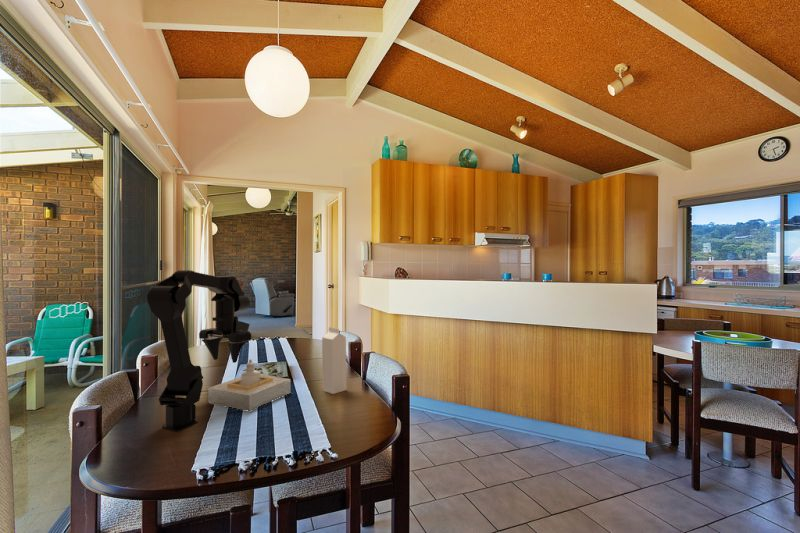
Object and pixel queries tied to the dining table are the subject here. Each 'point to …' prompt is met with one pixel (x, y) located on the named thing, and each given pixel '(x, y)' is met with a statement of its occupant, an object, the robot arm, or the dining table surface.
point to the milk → (334, 361)
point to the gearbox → (248, 392)
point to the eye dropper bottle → (250, 375)
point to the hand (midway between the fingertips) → (225, 361)
